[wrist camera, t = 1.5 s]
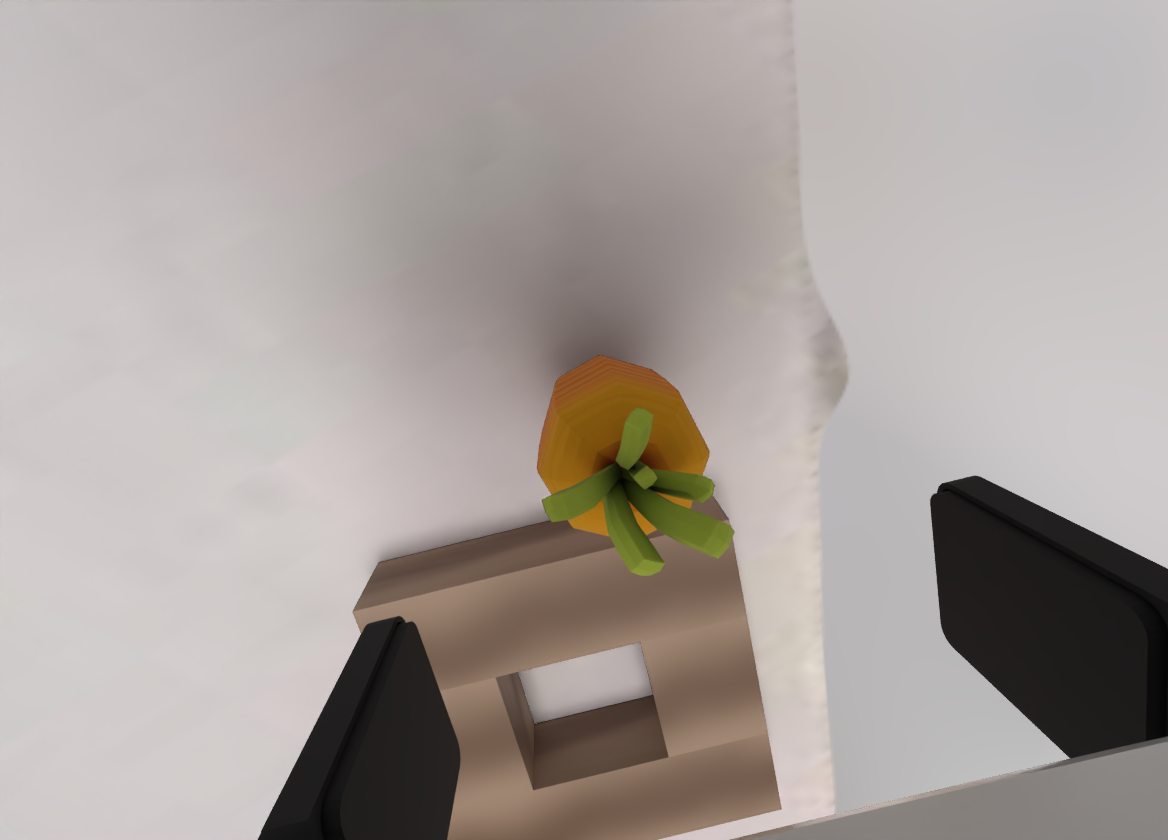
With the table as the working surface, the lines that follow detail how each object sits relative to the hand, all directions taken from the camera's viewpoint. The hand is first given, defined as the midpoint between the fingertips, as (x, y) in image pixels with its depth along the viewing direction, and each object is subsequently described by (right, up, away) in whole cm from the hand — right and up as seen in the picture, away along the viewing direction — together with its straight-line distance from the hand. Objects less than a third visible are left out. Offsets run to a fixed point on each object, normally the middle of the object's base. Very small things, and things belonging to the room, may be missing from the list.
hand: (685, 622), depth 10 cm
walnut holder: (-2, -9, +20) cm, 22 cm away
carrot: (-1, +5, +16) cm, 17 cm away
